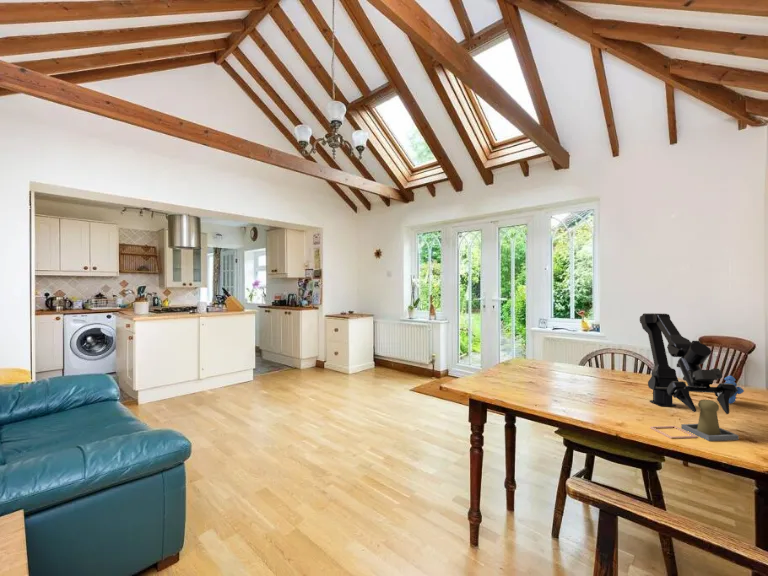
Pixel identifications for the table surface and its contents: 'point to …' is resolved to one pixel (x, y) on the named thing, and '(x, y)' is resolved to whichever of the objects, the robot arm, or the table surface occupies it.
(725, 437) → the lower port socket
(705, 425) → the cork
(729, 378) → the grapes
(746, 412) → the table surface
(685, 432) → the frame
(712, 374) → the robot arm
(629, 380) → the table surface
